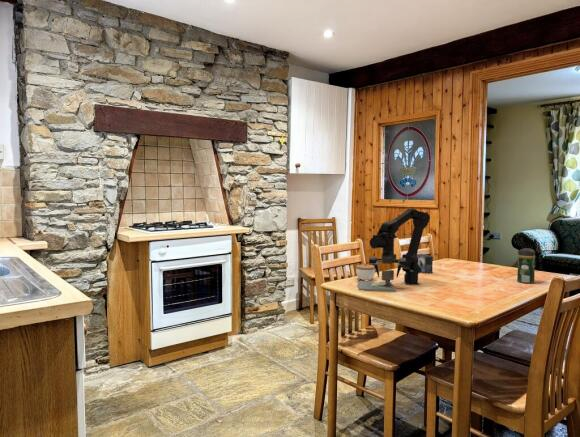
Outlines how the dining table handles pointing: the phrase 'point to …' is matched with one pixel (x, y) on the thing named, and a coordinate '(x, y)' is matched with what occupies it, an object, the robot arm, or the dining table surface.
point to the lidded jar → (365, 271)
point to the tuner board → (367, 286)
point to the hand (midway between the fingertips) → (387, 277)
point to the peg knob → (386, 277)
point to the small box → (425, 263)
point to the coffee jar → (526, 265)
